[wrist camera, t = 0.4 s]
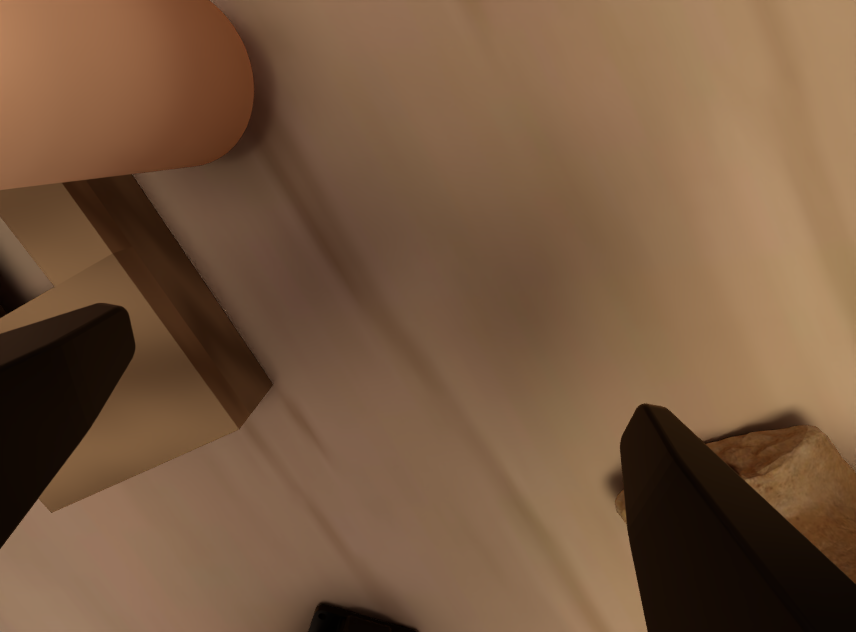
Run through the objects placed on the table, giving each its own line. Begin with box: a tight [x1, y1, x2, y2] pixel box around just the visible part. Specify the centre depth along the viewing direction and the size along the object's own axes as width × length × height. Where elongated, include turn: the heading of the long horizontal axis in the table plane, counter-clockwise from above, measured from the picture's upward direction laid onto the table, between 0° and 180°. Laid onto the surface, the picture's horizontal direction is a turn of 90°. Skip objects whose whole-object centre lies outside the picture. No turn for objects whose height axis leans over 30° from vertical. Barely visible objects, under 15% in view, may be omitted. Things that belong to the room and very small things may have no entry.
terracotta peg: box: [0, 0, 254, 190], centre depth 15 cm, size 6×6×12 cm
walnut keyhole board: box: [0, 174, 273, 513], centre depth 21 cm, size 20×11×4 cm, turn 27°
